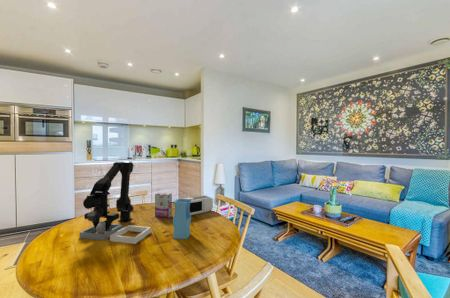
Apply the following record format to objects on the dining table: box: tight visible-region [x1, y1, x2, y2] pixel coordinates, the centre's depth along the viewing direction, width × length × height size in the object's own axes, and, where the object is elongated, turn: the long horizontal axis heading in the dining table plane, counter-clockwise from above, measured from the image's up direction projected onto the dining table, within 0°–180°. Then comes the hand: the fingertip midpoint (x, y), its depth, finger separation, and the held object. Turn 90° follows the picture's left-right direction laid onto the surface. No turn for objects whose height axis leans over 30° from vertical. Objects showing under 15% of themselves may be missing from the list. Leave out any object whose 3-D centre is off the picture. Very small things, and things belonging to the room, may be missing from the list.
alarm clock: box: [182, 195, 214, 216], centre depth 161 cm, size 27×9×12 cm, turn 127°
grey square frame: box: [79, 223, 123, 241], centre depth 123 cm, size 15×15×3 cm
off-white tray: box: [109, 224, 152, 245], centre depth 119 cm, size 15×15×3 cm
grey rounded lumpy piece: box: [95, 220, 106, 234], centre depth 123 cm, size 6×7×7 cm
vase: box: [172, 198, 192, 240], centre depth 121 cm, size 8×8×20 cm
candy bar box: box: [154, 192, 173, 219], centre depth 153 cm, size 11×5×16 cm, turn 73°
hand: (101, 230), depth 123 cm, fingers open, 6 cm apart
